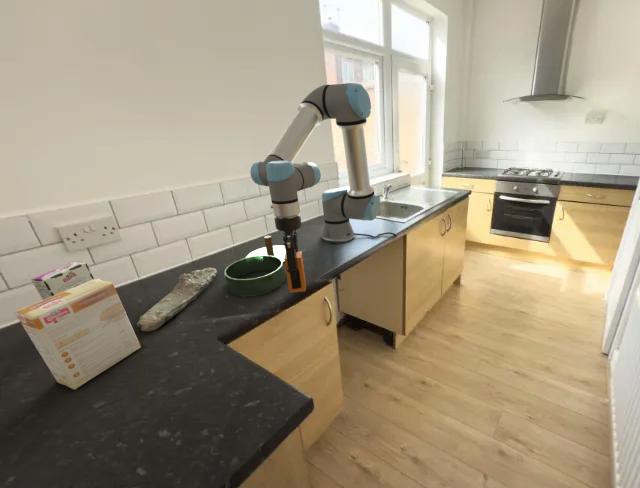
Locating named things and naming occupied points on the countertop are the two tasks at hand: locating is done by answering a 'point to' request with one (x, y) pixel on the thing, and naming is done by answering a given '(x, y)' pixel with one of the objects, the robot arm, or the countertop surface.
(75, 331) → the coffeecake box
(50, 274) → the candy bar box
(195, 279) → the elongated rock
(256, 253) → the tin lid
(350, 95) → the robot arm
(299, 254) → the snack box
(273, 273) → the tin
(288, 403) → the countertop surface
